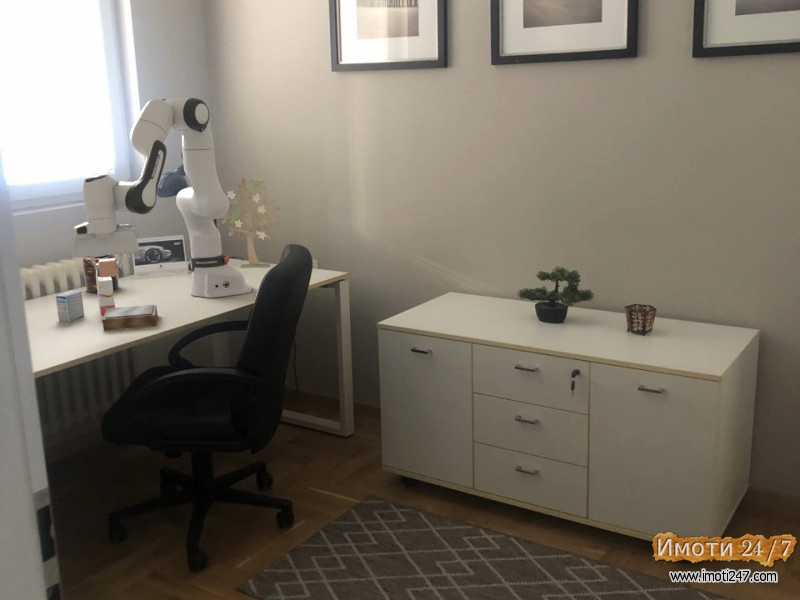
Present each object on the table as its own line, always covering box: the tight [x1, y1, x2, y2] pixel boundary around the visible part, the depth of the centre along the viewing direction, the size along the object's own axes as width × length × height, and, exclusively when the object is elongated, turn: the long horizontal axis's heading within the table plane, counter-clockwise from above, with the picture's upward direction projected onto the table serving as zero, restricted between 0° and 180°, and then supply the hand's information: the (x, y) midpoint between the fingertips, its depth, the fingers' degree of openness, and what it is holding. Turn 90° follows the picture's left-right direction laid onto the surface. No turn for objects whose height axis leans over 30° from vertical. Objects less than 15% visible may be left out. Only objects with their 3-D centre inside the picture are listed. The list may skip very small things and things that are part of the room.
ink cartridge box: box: [96, 270, 116, 315], centre depth 290 cm, size 9×5×15 cm, turn 23°
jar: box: [82, 255, 120, 294], centre depth 324 cm, size 12×12×15 cm
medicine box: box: [55, 290, 85, 323], centre depth 283 cm, size 8×4×9 cm, turn 163°
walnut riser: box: [101, 304, 158, 332], centre depth 275 cm, size 16×14×4 cm
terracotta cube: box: [98, 257, 119, 278], centre depth 270 cm, size 5×5×5 cm
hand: (108, 268), depth 270 cm, fingers closed on terracotta cube, 5 cm apart
